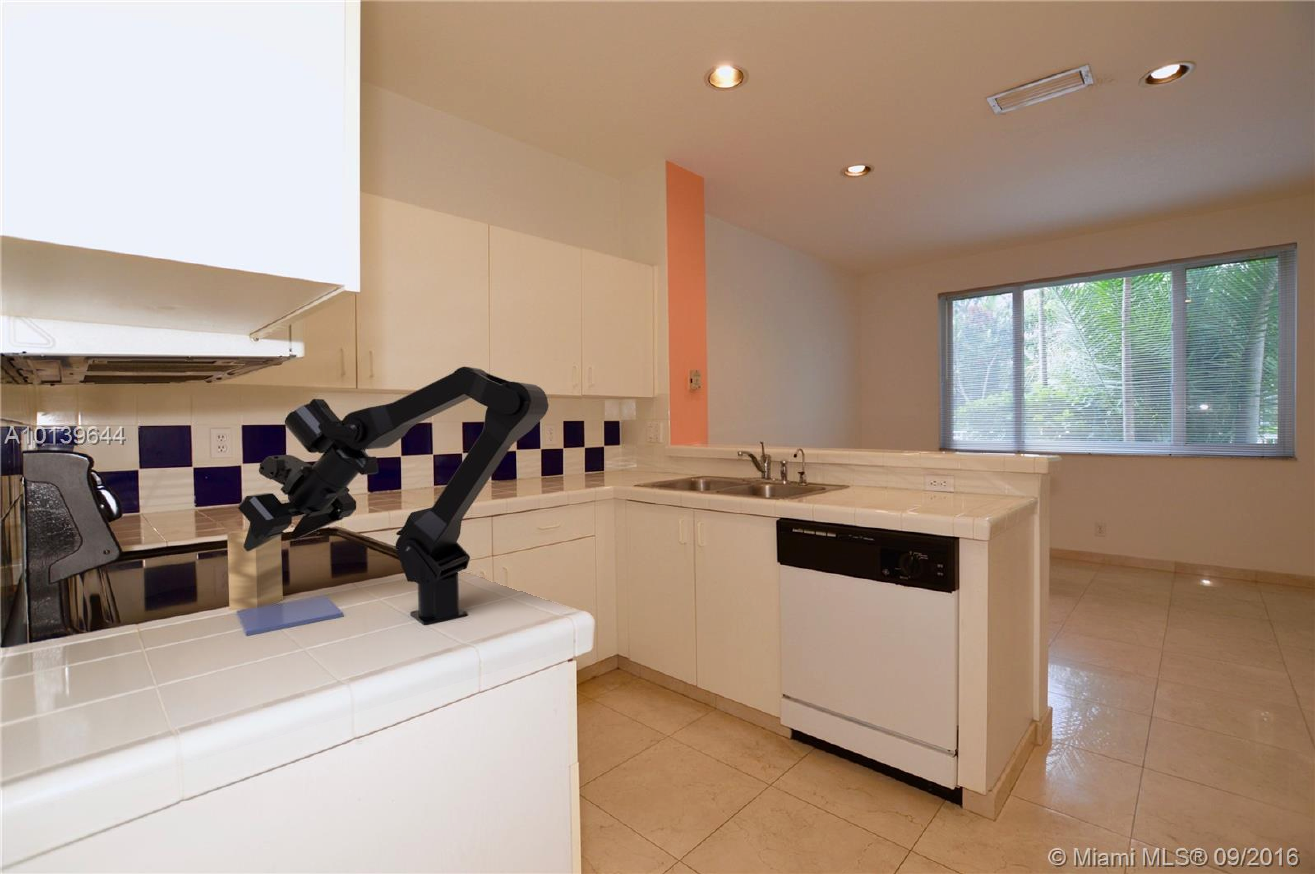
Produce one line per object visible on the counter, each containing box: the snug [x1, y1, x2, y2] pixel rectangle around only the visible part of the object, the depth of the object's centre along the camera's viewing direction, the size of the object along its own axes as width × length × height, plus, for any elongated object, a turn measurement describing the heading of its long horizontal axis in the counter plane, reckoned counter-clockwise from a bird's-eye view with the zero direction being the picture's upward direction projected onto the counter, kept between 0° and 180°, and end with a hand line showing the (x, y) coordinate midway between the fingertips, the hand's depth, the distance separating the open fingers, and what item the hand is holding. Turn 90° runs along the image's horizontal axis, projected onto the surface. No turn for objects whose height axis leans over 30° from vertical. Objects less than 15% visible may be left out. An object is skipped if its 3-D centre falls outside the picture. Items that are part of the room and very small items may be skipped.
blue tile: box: [236, 594, 344, 636], centre depth 90 cm, size 12×12×1 cm
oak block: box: [226, 527, 284, 610], centre depth 96 cm, size 5×5×12 cm
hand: (270, 542), depth 95 cm, fingers open, 9 cm apart
